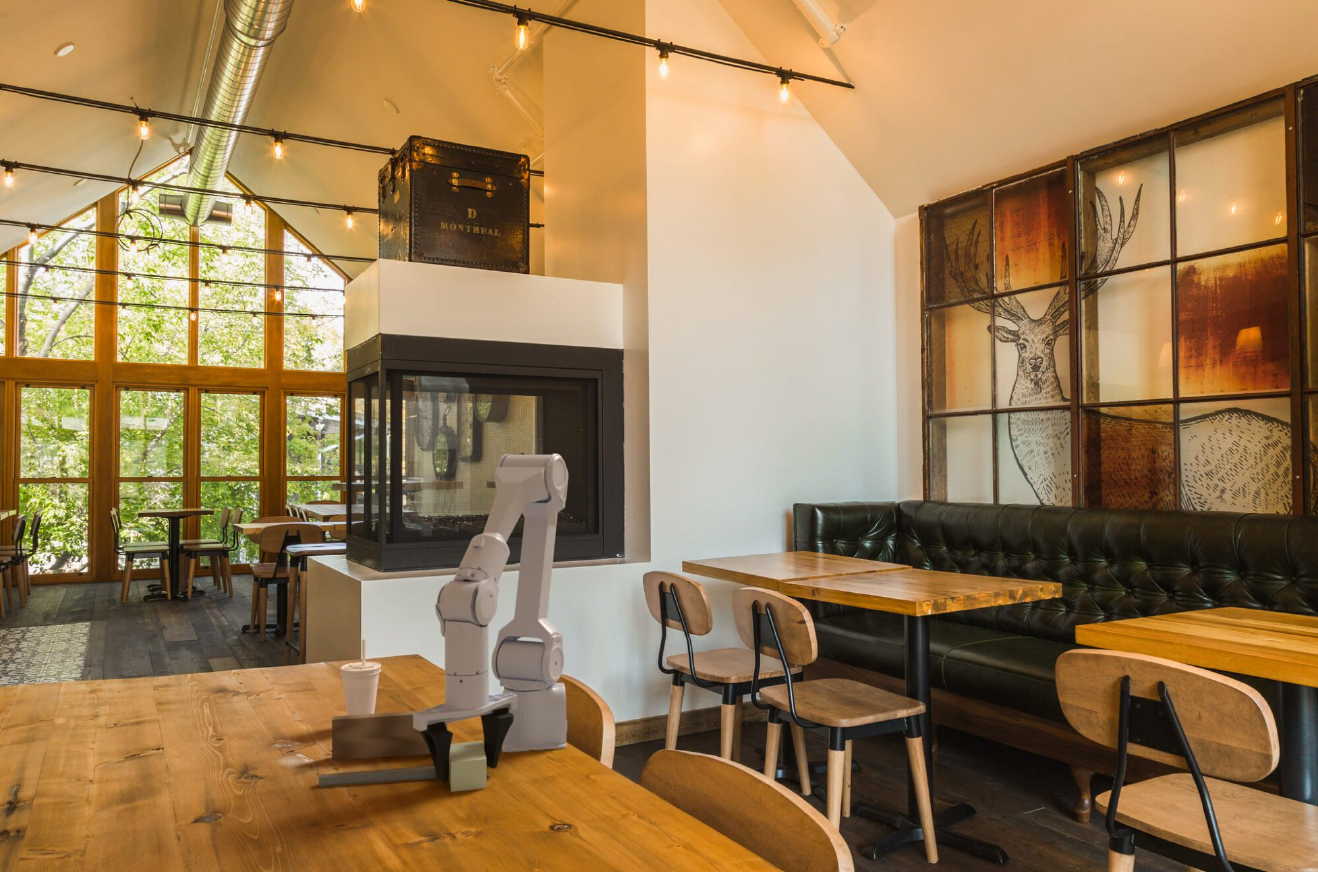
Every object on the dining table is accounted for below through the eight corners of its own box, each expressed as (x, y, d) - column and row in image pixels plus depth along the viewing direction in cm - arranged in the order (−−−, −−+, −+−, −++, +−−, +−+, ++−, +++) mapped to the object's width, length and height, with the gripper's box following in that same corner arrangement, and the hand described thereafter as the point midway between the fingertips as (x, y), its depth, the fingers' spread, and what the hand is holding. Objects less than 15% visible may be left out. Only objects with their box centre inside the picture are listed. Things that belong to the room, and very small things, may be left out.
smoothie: (368, 733, 139) (368, 644, 139) (331, 731, 140) (331, 642, 141) (388, 721, 145) (388, 635, 146) (353, 718, 147) (353, 634, 147)
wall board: (447, 749, 131) (447, 709, 131) (446, 753, 130) (446, 712, 130) (333, 758, 128) (333, 716, 128) (332, 761, 126) (332, 719, 127)
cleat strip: (444, 777, 120) (444, 764, 120) (444, 781, 119) (444, 767, 119) (320, 788, 117) (320, 774, 117) (318, 791, 116) (318, 777, 116)
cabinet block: (482, 773, 122) (482, 740, 122) (486, 793, 115) (486, 758, 115) (448, 776, 121) (448, 743, 121) (451, 797, 114) (450, 762, 114)
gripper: (498, 656, 126) (499, 752, 126) (402, 674, 116) (402, 778, 116) (525, 665, 121) (525, 765, 120) (427, 685, 111) (427, 793, 111)
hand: (467, 772), depth 118 cm, fingers open, 7 cm apart
